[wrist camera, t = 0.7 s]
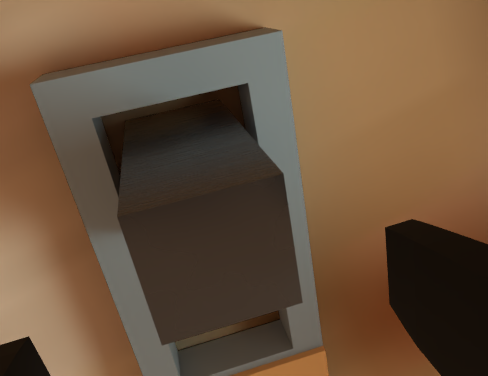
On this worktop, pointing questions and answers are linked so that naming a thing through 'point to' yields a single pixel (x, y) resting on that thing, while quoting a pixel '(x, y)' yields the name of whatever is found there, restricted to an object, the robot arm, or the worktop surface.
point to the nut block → (205, 221)
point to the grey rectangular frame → (108, 184)
